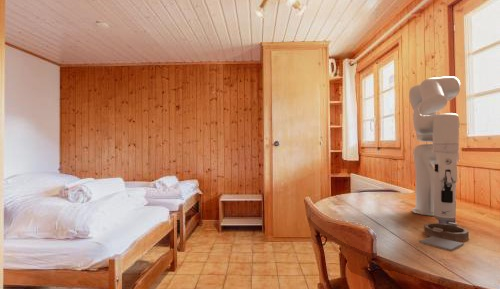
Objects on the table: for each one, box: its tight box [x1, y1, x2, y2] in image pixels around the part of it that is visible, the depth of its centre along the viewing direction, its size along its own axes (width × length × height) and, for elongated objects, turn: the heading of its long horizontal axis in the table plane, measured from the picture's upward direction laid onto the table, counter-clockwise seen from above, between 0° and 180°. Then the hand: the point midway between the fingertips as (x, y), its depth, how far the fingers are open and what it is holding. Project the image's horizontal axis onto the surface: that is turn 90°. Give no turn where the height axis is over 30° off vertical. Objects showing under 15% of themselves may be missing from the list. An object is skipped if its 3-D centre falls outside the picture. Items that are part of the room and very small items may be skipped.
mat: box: [418, 236, 464, 252], centre depth 92 cm, size 9×9×1 cm
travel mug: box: [433, 164, 457, 222], centre depth 101 cm, size 6×7×20 cm
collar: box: [423, 222, 470, 242], centre depth 100 cm, size 14×12×3 cm
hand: (445, 199), depth 101 cm, fingers closed on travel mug, 6 cm apart
